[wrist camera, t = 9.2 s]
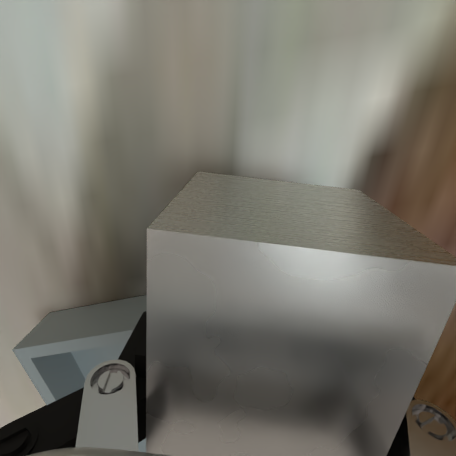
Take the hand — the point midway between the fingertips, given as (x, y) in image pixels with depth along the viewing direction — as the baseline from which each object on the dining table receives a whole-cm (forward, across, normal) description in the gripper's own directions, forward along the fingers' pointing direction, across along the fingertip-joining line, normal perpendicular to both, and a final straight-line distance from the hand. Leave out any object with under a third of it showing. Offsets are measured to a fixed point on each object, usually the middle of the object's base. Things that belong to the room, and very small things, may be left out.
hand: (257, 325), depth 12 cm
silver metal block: (+1, 0, 0) cm, 1 cm away
